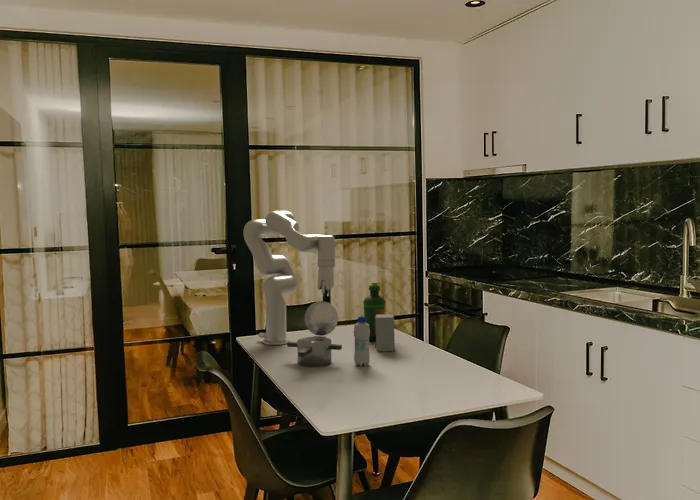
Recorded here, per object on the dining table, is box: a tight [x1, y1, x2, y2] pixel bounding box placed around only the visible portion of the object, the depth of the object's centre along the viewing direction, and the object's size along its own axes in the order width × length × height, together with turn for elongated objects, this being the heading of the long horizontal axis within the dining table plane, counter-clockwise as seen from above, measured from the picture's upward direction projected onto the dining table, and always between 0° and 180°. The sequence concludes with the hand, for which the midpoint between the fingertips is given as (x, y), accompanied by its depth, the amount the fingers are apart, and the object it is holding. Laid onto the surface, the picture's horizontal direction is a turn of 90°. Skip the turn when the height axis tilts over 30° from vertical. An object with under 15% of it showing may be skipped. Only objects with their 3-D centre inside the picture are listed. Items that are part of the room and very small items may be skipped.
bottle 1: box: [353, 315, 371, 367], centre depth 248 cm, size 7×7×20 cm
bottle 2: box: [362, 281, 386, 343], centre depth 292 cm, size 11×11×28 cm
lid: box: [304, 300, 339, 337], centre depth 261 cm, size 15×15×3 cm
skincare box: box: [375, 314, 396, 352], centre depth 273 cm, size 8×7×16 cm
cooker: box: [286, 335, 343, 368], centre depth 248 cm, size 23×24×9 cm
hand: (326, 305), depth 268 cm, fingers closed
